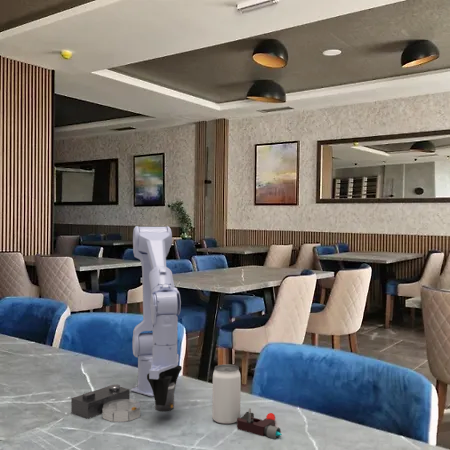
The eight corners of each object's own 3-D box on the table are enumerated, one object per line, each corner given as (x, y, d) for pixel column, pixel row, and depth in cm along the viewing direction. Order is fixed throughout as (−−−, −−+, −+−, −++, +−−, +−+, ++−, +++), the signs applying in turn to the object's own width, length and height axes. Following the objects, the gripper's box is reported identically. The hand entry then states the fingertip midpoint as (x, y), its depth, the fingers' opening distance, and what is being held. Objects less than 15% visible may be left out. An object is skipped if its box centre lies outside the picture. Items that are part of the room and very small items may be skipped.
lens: (164, 403, 129) (164, 378, 129) (178, 407, 126) (179, 382, 126) (150, 408, 125) (150, 383, 125) (165, 413, 122) (165, 387, 122)
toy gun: (278, 443, 113) (278, 420, 113) (230, 430, 119) (231, 408, 119) (299, 428, 121) (299, 406, 121) (253, 416, 127) (253, 396, 127)
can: (224, 412, 129) (224, 362, 129) (245, 418, 125) (246, 367, 125) (206, 419, 124) (207, 368, 124) (228, 427, 120) (228, 373, 120)
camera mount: (113, 398, 138) (113, 380, 138) (155, 411, 129) (155, 392, 129) (71, 412, 128) (71, 393, 128) (113, 428, 119) (113, 407, 119)
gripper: (159, 335, 133) (159, 389, 134) (136, 349, 119) (136, 410, 119) (187, 336, 132) (186, 392, 132) (166, 351, 118) (166, 413, 118)
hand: (164, 401), depth 126 cm, fingers closed on lens, 4 cm apart
